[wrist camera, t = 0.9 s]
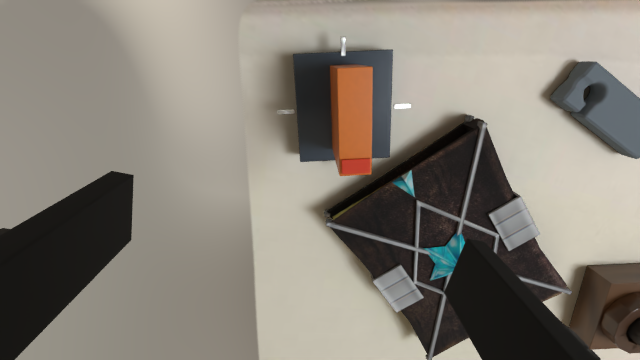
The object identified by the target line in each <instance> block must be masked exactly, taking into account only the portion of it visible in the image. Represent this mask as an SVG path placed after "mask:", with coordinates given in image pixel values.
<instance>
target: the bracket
mask: <svg viewBox="0 0 640 360" xmlns="http://www.w3.org/2000/svg"><path fill="white" fill-rule="evenodd" d="M589 85H590V93H589V95H588V97H587V98H586V99H585V100H584V99H583V95H584V89H585V88H586V87H587V86H589ZM551 100H552V101H554V102H555V103H556V104H557V105H559V106H560V107H561V108H562V109H564V110H568V111H572V112H571V115H572V116H573V117H574V118H575V119H577V120H578V121H579V122H580V123H582V124H583V125H584V126H586V127H587V128H588V129H589V130H591V131H592V132H593V133H595V134H596V135H597V136H598V137H600V138H601V139H602V140H603V141H605V142H606V143H607V144H609V145H610V146H611V147H612V148H614V149H615V150H616V151H618V152H619V153H620V154H622V155H625V156H628V157H631V158H635V159H638V158H640V98H638V97H637V96H636V95H635V94H634V93H633V92H631V91H630V90H629V89H628V88H627V87H626V86H624V85H623V84H622V83H621V82H620V81H618V80H617V79H616V78H615V77H614V76H613V75H611V74H610V73H609V72H608V71H607V70H606V69H604V68H603V67H602V66H601V65H600V64H598V63H597V62H579V63H578V64H577V65H576V67H575V68H574V69H573V70H572V71H571V73H570V75H569V77H568V79H567V80H566V81H565V82H564V83H563V84H561V85H560V86H559V87H558V88H557V89H556V90H555V92H554V93H553V94H552V95H551Z"/></svg>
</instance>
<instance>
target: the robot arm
mask: <svg viewBox="0 0 640 360" xmlns="http://www.w3.org/2000/svg"><path fill="white" fill-rule="evenodd" d="M132 199H133V175H130V174H125V173H119V172H114V171H111V172H109V173H107V174H106V175H104V176H102V177H101V178H99V179H97V180H95V181H94V182H92V183H90V184H88V185H87V186H85V187H83V188H82V189H80V190H78V191H76V192H75V193H73V194H71V195H69V196H68V197H66V198H64V199H63V200H61V201H59V202H57V203H55V204H54V205H52V206H50V207H48V208H47V209H45V210H43V211H42V212H40V213H38V214H36V215H35V216H33V217H31V218H30V219H28V220H26V221H24V222H22V223H21V224H19V225H17V226H16V227H14V228H12V229H5V228H2V229H0V360H15V359H16V358H17V357H18V355H20V353H21V352H22V351H23V350H24V349H25V348H26V347H27V346H28V345H29V344H30V343H31V342H32V341H33V340H34V339H35V338H36V337H37V336H38V335H39V334H40V333H41V332H42V331H43V330H44V329H45V328H46V327H47V326H48V325H49V324H50V323H51V322H52V321H53V319H55V318H56V317H57V315H58V314H59V313H60V312H61V311H62V310H63V309H64V308H65V307H66V306H67V305H68V304H69V303H70V302H71V301H72V300H73V299H74V298H75V297H76V296H77V295H78V294H79V293H80V292H81V291H82V290H83V289H84V288H85V287H86V286H87V285H88V284H89V283H90V281H92V280H93V279H94V277H95V276H96V275H97V274H98V273H99V272H100V271H101V270H102V269H103V268H104V267H105V266H106V265H107V264H108V263H109V262H110V261H111V260H112V259H113V258H114V257H115V256H116V255H117V254H118V253H119V252H120V251H121V250H122V249H123V247H125V246H126V244H128V243H129V241H131V229H132ZM444 294H445V296H446V297H447V299H448V301H449V303H450V304H451V306H452V308H453V310H454V311H455V313H456V315H457V317H458V318H459V320H460V322H461V324H462V325H463V327H464V329H465V331H466V332H467V334H468V336H469V338H470V339H471V341H472V343H473V345H474V346H475V348H476V350H477V352H478V353H479V355H480V357H481V359H482V360H600V358H599V357H598V356H597V355H596V354H595V353H594V352H593V351H592V350H590V349H589V346H588V345H587V344H586V343H585V342H584V341H583V340H582V339H581V338H580V337H579V336H578V335H577V334H576V333H575V332H574V331H572V330H571V329H570V328H568V327H567V326H566V325H564V324H563V323H562V322H561V321H560V320H559V319H558V318H557V317H556V316H555V315H554V314H553V313H552V312H551V311H550V310H549V309H548V308H547V307H546V306H545V305H544V304H543V303H542V302H541V300H540V299H539V298H538V297H537V296H536V295H535V294H534V293H533V292H532V291H531V290H530V289H529V288H528V287H527V286H526V285H525V284H524V283H523V282H522V281H521V279H520V278H519V277H518V276H517V275H516V274H515V273H514V272H513V271H512V270H511V269H510V268H509V267H508V266H507V265H506V264H505V263H504V262H503V261H502V260H501V258H500V257H499V256H498V255H497V254H496V253H495V252H494V251H493V250H492V249H491V248H490V247H489V246H488V245H487V244H486V243H485V242H484V241H479V240H474V239H469V238H467V239H466V241H465V244H464V246H463V249H462V251H461V253H460V256H459V258H458V260H457V263H456V265H455V268H454V270H453V272H452V275H451V277H450V279H449V282H448V284H447V286H446V289H445V291H444Z"/></svg>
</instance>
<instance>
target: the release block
mask: <svg viewBox="0 0 640 360" xmlns="http://www.w3.org/2000/svg"><path fill="white" fill-rule="evenodd" d="M639 317H640V263H639V264H616V265H592V266H587V269H586V272H585V275H584V279H583V282H582V285H581V289H580V292H579V296H578V299H577V302H576V306H575V309H574V313H573V316H572V319H571V323H570V326H569V328H570V329H571V330H572V331H574V332H575V333H576V334H577V335H578V336H579V337H580V338H581V339H582V340H583V341H584V342H585V343H586V344H587V345H588V346H589V349H610V348H620V349H622V350H624V351H626V352H628V353H640V346H639V345H638V344H636V343H635V342H634V341H633V340H632V339H631V338H629V336H628V335H627V330H628V327H629V325H631V324H632V323H633V322H634V321H635V320H636V319H637V318H639Z"/></svg>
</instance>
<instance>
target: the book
mask: <svg viewBox="0 0 640 360" xmlns="http://www.w3.org/2000/svg"><path fill="white" fill-rule="evenodd" d="M486 126H487V123H485V122H484V121H483V120H481V119H478V118H476V119H474V116H471V115H466V117H465V122H464V123H463V124H461V125H459V126H458V127H456V128H455V129H453V130H452V131H450V132H449V133H447V134H446V135H445V136H443V137H442V138H440V139H439V140H437V141H436V142H434V143H433V144H431V145H430V146H428V147H427V148H425V149H424V150H422V151H421V152H419V153H418V154H416V155H415V156H413V157H411V158H410V159H408V160H407V161H405V162H404V163H402V164H401V165H399V166H397V167H396V168H394V169H393V170H391V171H390V172H388V173H387V174H385V175H383V176H382V177H380V178H379V179H377V180H376V181H374V182H372V183H371V184H369V185H368V186H366V187H365V188H363V189H362V190H360V191H358V192H357V193H355V194H353V195H352V196H350V197H349V198H347V199H345V200H344V201H342V202H341V203H339V204H337V205H336V206H334V207H333V208H331V209H329V210H325V211H324V216H325V217H328V218H329V217H331V218H332V219H333V220H331V219H328V218H327V219H326V221H325V222H326V226H328V227H330V228H331V229H332V230H333V231H334V232H335V233H336V234H337V235H338V237H339V238H340V239H341V240H342V241H343V242H344V243H345V244H346V245H347V246H348V247H349V249H350V250H351V251H352V252H353V253H354V254H355V255H356V256H357V257H358V258H359V259H360V260H361V262H362V263H363V264H364V265H365V266H366V267H367V269H368V270H369V271H370V274H371V277H372V281H373V283H374V284H375V285H376V287H377V288H378V289H379V290H380V292H381V293H382V294H383V296H384V297H385V298H386V300H387V301H388V302H389V304H390V305H391V306H392V308H393V309H394V310H395V311H396V313H397V312H398V311H400V310H401V311H402V313H403V314H404V315H405V316H406V318H407V319H408V320H409V321H410V323H411V325H412V327H413V328H414V330H415V332H416V334H417V336H418V338H419V340H420V341H421V343H422V345H423V347H424V349H425V351H426V352H427V354H428V355H426V359H427V360H432V357H434V356H436V355H438V354H439V353H441V352H443V351H445V350H447V349H449V348H450V347H452V346H454V345H456V344H458V343H459V342H461V341H463V340H465V339H467V338H469V336H468V334H467V332H466V331H465V329H464V327H463V325H462V324H461V322H460V320H459V318H458V317H457V315H456V313H455V311H454V310H453V308H452V306H451V304H450V303H449V301H448V299H447V297H446V296H445V294H444V291H445V289H446V286H447V284H448V282H449V279H450V277H451V275H452V272H453V270H454V268H455V265H456V263H457V260H458V258H459V256H460V253H461V251H462V249H463V246H464V244H465V241H466V239H467V238H469V239H474V240H479V241H484V242H485V243H486V244H487V245H488V246H489V247H490V248H491V249H492V250H493V251H494V252H495V253H496V254H497V255H498V256H499V257H500V258H501V260H502V261H503V262H504V263H505V264H506V265H507V266H508V267H509V268H510V269H511V270H512V271H513V272H514V273H515V274H516V275H517V276H518V277H519V278H520V279H521V281H522V282H523V283H524V284H525V285H526V286H527V287H528V288H529V289H530V290H531V291H532V292H533V293H534V294H535V295H536V296H537V297H538V298H539V299H540V300H541V302H543V301H545V300H548V299H550V298H552V297H554V296H557V295H559V294H561V293H562V292H563V293H567V294H571V293H572V291H571V290H570V289H568V288H567V287H566V286H567V285H566V283H565V282H564V281H563V279H562V278H561V277H560V275H559V274H558V272H557V271H556V270H555V268H554V267H553V266H552V264H551V263H550V262H549V260H548V259H547V257H546V256H545V255H544V253H543V252H542V251H541V249H540V248H539V246H538V243H537V241H536V239H535V237H536V236H538V235H539V234H540V233H539V231H538V229H537V227H536V225H535V223H534V221H533V219H532V217H531V215H530V213H529V211H528V209H527V207H526V205H525V203H524V201H523V199H522V197H521V196H520V195H518V194H517V193H515V192H513V191H512V189H511V187H510V185H509V183H508V180H507V178H506V176H505V173H504V171H503V168H502V166H501V163H500V160H499V158H498V155H497V153H496V150H495V148H494V145H493V143H492V140H491V137H490V135H489V132H488V130H487V127H486Z"/></svg>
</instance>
